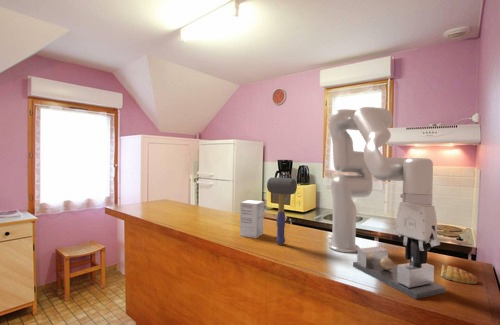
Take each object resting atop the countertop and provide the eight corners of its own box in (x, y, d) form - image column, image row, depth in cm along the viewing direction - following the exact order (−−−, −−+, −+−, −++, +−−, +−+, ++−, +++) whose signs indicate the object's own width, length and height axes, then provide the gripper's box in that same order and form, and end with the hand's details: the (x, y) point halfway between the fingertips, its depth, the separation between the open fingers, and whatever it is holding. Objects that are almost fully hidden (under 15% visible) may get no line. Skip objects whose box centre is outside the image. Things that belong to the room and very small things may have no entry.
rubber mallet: (264, 243, 120) (265, 177, 120) (272, 239, 126) (273, 176, 126) (289, 249, 113) (291, 178, 113) (296, 244, 119) (298, 177, 119)
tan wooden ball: (377, 268, 90) (377, 256, 90) (386, 267, 91) (386, 255, 91) (387, 273, 86) (387, 260, 86) (396, 271, 87) (396, 259, 87)
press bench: (352, 266, 95) (353, 248, 95) (378, 262, 99) (378, 245, 99) (415, 299, 72) (416, 275, 72) (445, 292, 77) (445, 270, 77)
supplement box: (247, 231, 140) (248, 199, 140) (263, 233, 136) (264, 201, 136) (239, 235, 131) (239, 201, 131) (256, 238, 127) (256, 203, 127)
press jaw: (397, 281, 79) (397, 237, 79) (420, 277, 83) (421, 235, 83) (409, 287, 75) (410, 241, 75) (433, 282, 79) (434, 239, 79)
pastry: (475, 280, 86) (475, 268, 86) (478, 287, 81) (478, 275, 81) (440, 272, 92) (440, 261, 92) (440, 279, 86) (440, 267, 86)
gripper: (384, 196, 85) (383, 253, 85) (436, 204, 70) (434, 273, 70) (401, 195, 88) (400, 251, 88) (454, 203, 73) (453, 270, 73)
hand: (415, 260), depth 79 cm, fingers closed on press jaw, 3 cm apart
